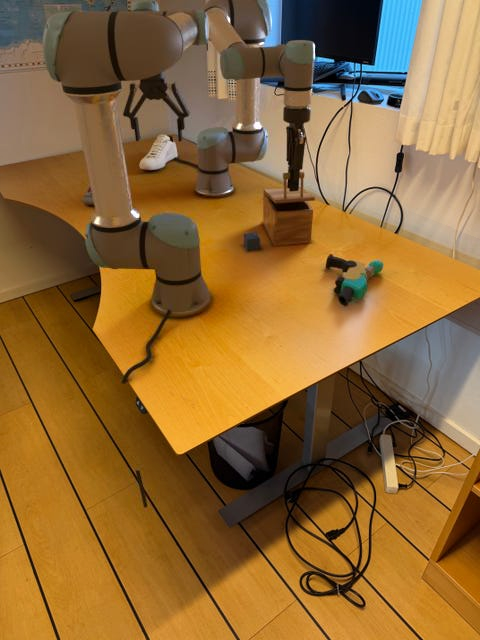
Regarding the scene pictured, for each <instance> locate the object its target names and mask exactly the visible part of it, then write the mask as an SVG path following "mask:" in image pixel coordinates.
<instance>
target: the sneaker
mask: <svg viewBox="0 0 480 640" xmlns="http://www.w3.org/2000/svg"><path fill="white" fill-rule="evenodd" d="M178 156H179V155H178V149H177V144H176V140H175V136H174V135H173V134H164V133H161V134H158V135H157V137H156V139H155V140H154V142H153V143H152V146H151V148H150V150H149V151H148V153H147V154H146V155H145V156H144V157H143V158H142V159H141V160H140V162H139V169H141V170H144V171H156V170H160V169H162V168H164V167H165V166H166V164H167V163H168V162H170V161H172V160H175V159H174V158H175V157H176V158H178Z"/></svg>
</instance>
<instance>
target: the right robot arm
mask: <svg viewBox="0 0 480 640" xmlns="http://www.w3.org/2000/svg"><path fill="white" fill-rule="evenodd" d="M200 11H204V12H205V13H206V14H207V16H208V24H209V38H208V42H211V44H212V45H213V46H214V48H215V50H216V51H217V52H218V54H219V68H220V72H221V76H222V78H223V79H224V80H226V81H227V80H230V81H235V105H236V106H235V119H236V120H235V121H234V122H233V124H232V125H231V126H232V128H231V129H232V130H231V131H230V130H228V128H227V127H224V126H219V127H218V126H215V127H209V128H206V129H204V130H202V131H199V133H198V134H197V137H196V149H197V163H198V164H197V163H194V162H192V161H188V160H184V159H182V158H178V157H175V158H174V159H173V160H175V161H178V162H181V163H183V164H188V165H191V166H193V167H196V168H198V175H197V179H196V182H195V190H194V191H195V194H196V195H198V196H200V197H204V198H206V199H207V198H208V199H209V198H210V199H217V198H219V199H220V198H225V197H227V196H230V195H232V194H234V191H235V187H234V182H233V180H232V177H231V174H230V171H229V168H230V167H229V166H230V164H232V165H233V164H241V163H255V162H259V161H261V160H263V159H264V158H265V157H266V155H267V152H268V147H269V138H268V137H269V134H268V132H267V129H265V128H264V125H263V123H262V122H261V121H260V100H261V99H260V98H261V97H260V96H261V95H260V94H261V93H260V92H261V79H264V78H265V79H266V78H267V79H268V78H280V77H282V78H284V85H283V105H284V106H283V109H282V113H283V114H282V120H283V122H285V123H287V124H289V125H287V126H286V127H285V131H286V159H285V160H286V162H287V166H288V167H287V173H290V179H287V186H286V187H287V188H289V191H299V187H300V178H299V176H300V172H301V170H303V167H304V157H305V148H306V142H307V137H306V136H305V128H304V124H307V123H309V122H310V121H311V113H312V107H311V105H312V97H313V96H314V94H315V93H314V92H313V83H314V71H315V70H314V69H315V61H316V53H315V52H316V51H315V50H316V49H315V48H316V45H315V43H314V42H313V41H311V40H307V39H297V40H290V41H287V43H285V44H284V43H283V44H276V45H275V46H273V45H272V46H264V45H265V44H266V37H268V36H269V35H271V32H272V28H273V18H272V11H271V6H270V3H269V1H268V0H208V1H207V2H206V3H205V4H204V5H203V6H202V8H201V9H200Z"/></svg>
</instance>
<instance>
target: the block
mask: <svg viewBox="0 0 480 640" xmlns="http://www.w3.org/2000/svg"><path fill="white" fill-rule="evenodd" d="M243 247H244V249H245V250H246V252H254V251H259V250H260V251H261V237H260V235H259V234H258V232H257V231H254V232H246V233H243Z"/></svg>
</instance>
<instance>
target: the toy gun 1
mask: <svg viewBox="0 0 480 640" xmlns="http://www.w3.org/2000/svg"><path fill="white" fill-rule="evenodd" d="M86 192H87V193H86V194H84V195H83V198H82V200H81V202H82V204H83V205H87V206H89V205H90V206H94V201H93V196H92V191H91V186H89V187H88V189H87V191H86Z"/></svg>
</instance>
